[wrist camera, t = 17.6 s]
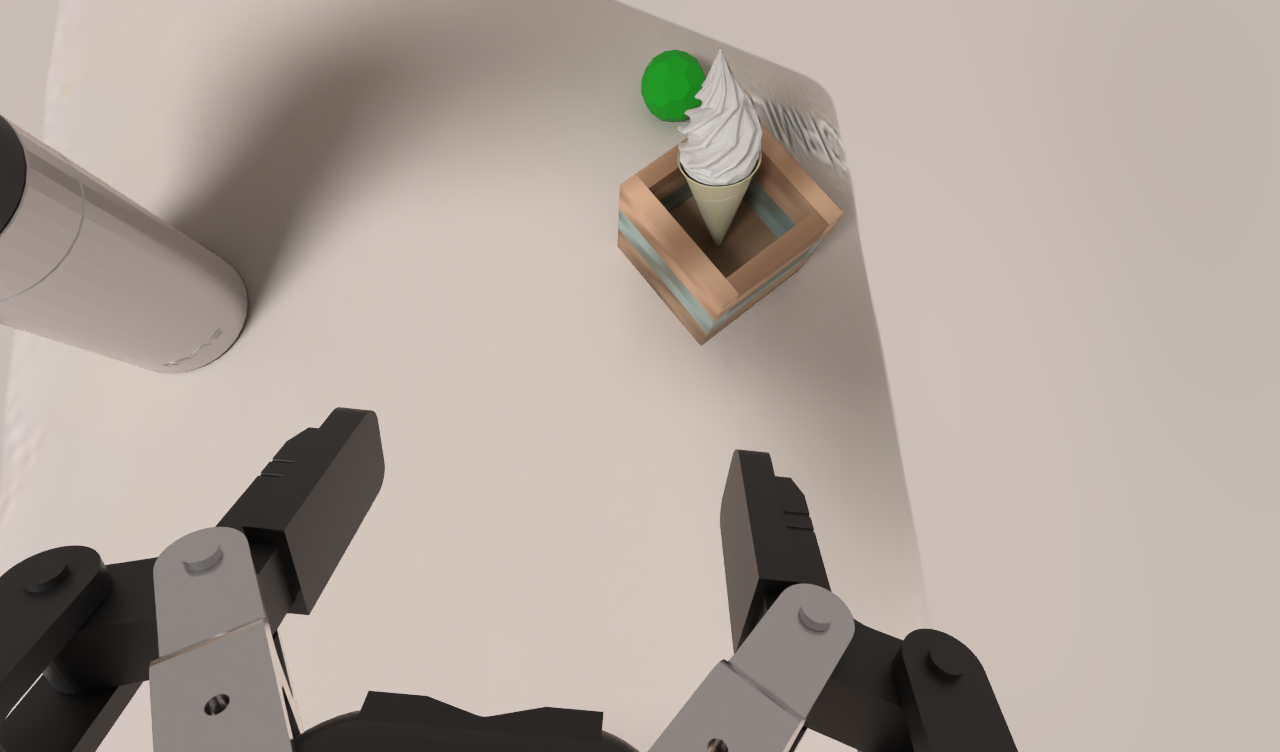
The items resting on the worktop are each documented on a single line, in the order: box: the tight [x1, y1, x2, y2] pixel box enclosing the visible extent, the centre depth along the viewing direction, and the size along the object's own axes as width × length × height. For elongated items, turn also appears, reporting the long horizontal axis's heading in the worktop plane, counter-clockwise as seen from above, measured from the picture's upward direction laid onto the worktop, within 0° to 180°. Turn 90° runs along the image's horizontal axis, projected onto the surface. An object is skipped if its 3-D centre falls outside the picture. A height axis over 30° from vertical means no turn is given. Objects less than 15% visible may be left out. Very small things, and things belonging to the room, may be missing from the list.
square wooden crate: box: [618, 121, 844, 345], centre depth 42 cm, size 10×10×9 cm
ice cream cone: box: [677, 48, 762, 246], centre depth 37 cm, size 5×5×15 cm
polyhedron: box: [641, 50, 706, 122], centre depth 47 cm, size 5×5×5 cm
